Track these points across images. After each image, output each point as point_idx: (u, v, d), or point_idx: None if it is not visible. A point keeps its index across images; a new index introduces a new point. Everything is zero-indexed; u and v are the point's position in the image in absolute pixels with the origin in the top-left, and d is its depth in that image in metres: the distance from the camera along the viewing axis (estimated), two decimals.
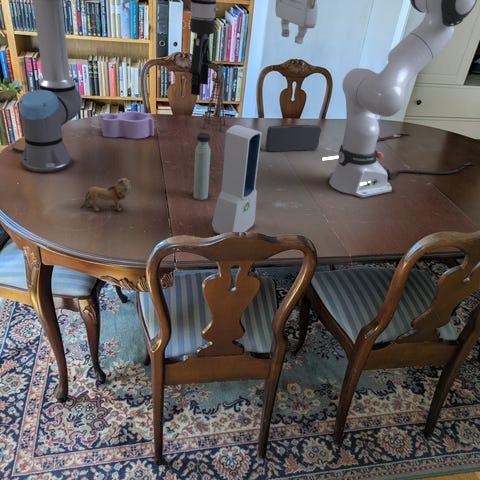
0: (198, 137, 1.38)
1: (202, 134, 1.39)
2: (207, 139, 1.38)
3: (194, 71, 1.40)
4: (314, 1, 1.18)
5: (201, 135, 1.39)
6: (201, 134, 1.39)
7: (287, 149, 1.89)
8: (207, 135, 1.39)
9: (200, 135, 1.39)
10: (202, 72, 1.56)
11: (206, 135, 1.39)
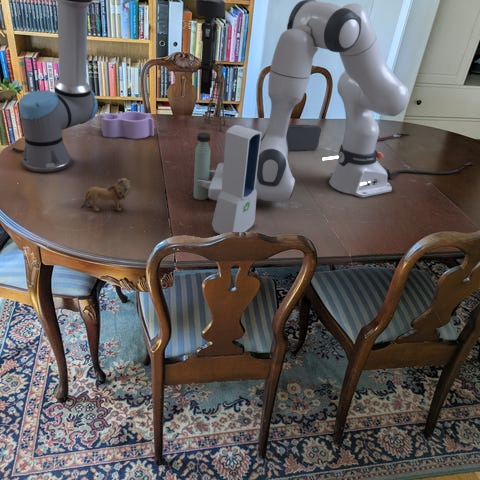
0: (198, 137, 1.38)
1: (202, 134, 1.39)
2: (207, 139, 1.38)
3: None
4: None
5: (201, 135, 1.39)
6: (201, 134, 1.39)
7: None
8: (207, 135, 1.39)
9: (200, 135, 1.39)
10: None
11: (206, 135, 1.39)
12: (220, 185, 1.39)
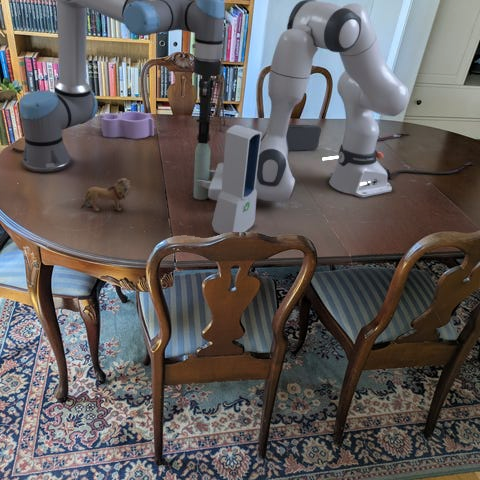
0: (198, 137, 1.38)
1: None
2: None
3: None
4: None
5: None
6: None
7: None
8: None
9: None
10: None
11: None
12: (220, 185, 1.39)
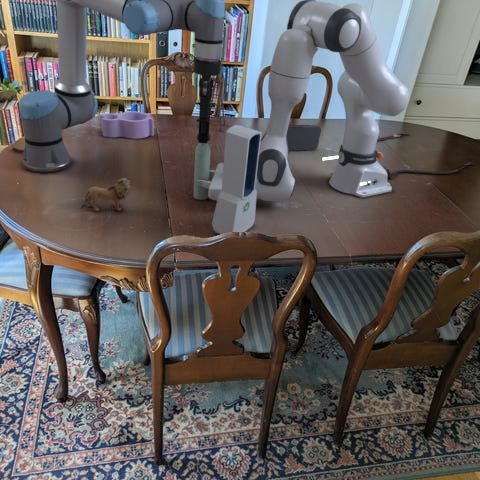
0: None
1: None
2: None
3: None
4: None
5: None
6: None
7: None
8: None
9: None
10: None
11: None
12: (220, 185, 1.39)
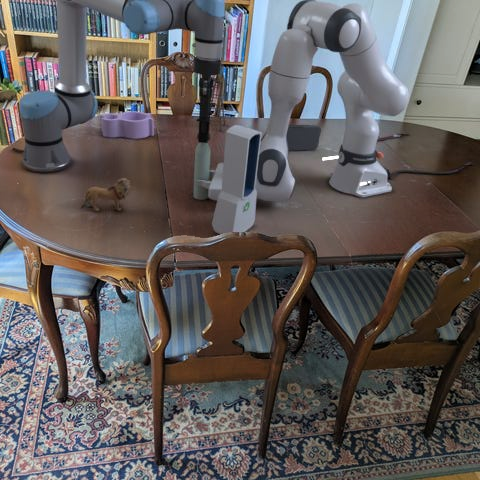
0: None
1: None
2: None
3: None
4: None
5: None
6: None
7: None
8: None
9: None
10: None
11: None
12: (220, 185, 1.39)
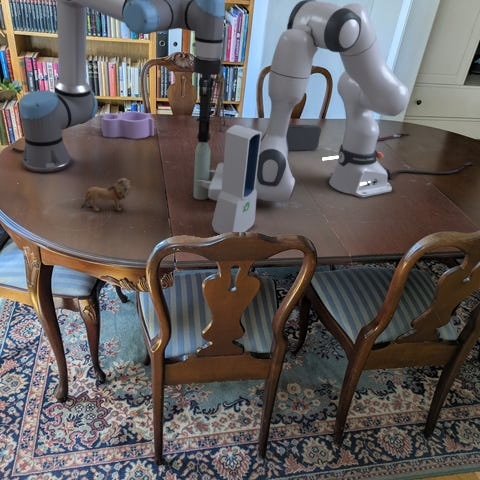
0: None
1: None
2: None
3: None
4: None
5: None
6: None
7: None
8: None
9: None
10: None
11: None
12: (220, 185, 1.39)
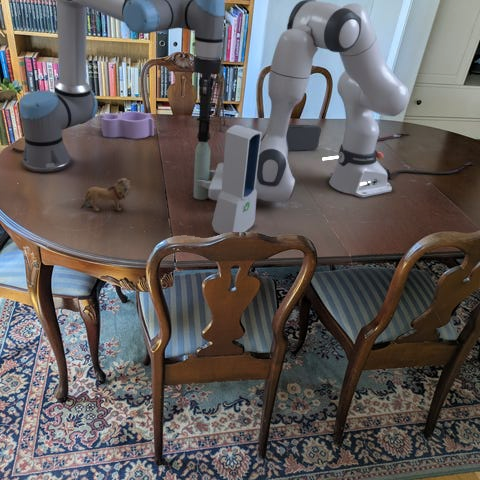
0: (198, 135, 1.38)
1: None
2: None
3: None
4: None
5: None
6: None
7: None
8: None
9: None
10: None
11: None
12: (220, 185, 1.39)
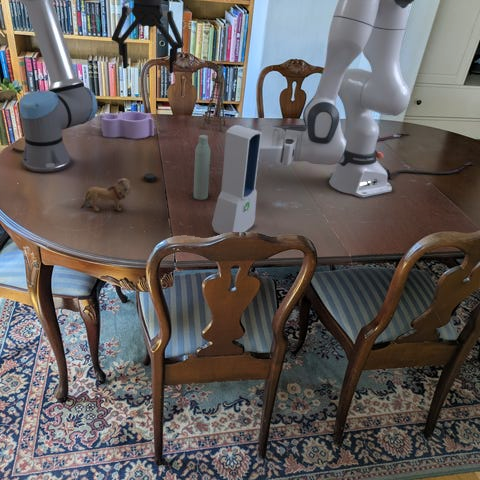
0: (151, 179, 1.55)
1: (148, 175, 1.56)
2: None
3: None
4: None
5: (150, 176, 1.56)
6: (148, 176, 1.56)
7: None
8: (151, 174, 1.57)
9: (150, 176, 1.55)
10: None
11: (151, 174, 1.57)
12: (268, 145, 1.31)
